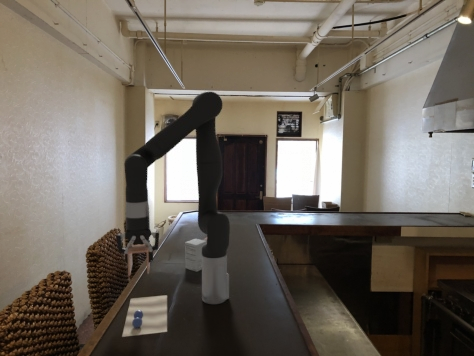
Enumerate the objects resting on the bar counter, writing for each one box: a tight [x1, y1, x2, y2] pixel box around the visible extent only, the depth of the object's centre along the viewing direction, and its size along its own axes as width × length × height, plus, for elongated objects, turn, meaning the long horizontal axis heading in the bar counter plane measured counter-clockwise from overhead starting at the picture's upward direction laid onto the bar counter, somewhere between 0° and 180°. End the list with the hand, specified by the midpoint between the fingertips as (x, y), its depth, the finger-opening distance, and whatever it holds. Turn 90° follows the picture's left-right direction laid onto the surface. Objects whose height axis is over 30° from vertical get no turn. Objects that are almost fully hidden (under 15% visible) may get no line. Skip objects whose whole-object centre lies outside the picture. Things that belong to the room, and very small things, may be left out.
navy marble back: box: [134, 310, 143, 319], centre depth 104 cm, size 3×3×3 cm
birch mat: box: [121, 295, 168, 338], centre depth 108 cm, size 24×13×1 cm, turn 12°
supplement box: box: [184, 238, 207, 272], centre depth 150 cm, size 7×7×13 cm
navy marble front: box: [132, 317, 142, 328], centre depth 100 cm, size 3×3×3 cm
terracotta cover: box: [127, 244, 151, 277], centre depth 109 cm, size 10×6×8 cm, turn 13°
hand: (139, 262), depth 109 cm, fingers closed on terracotta cover, 6 cm apart
